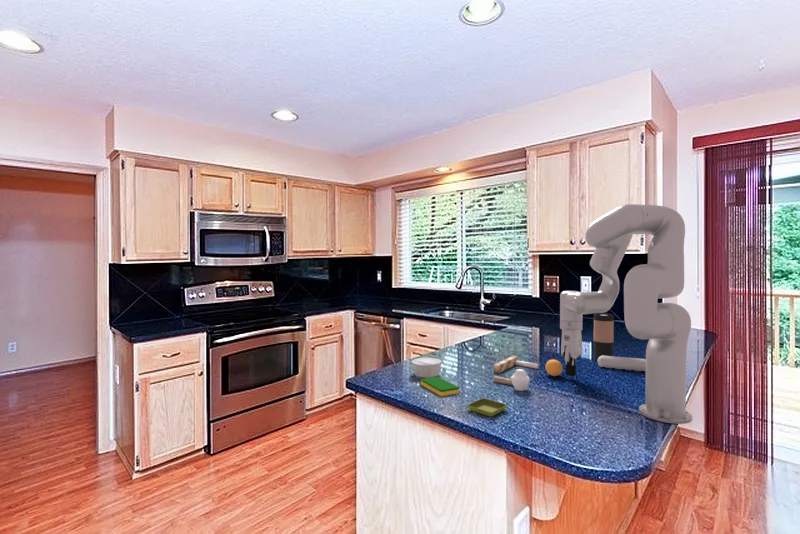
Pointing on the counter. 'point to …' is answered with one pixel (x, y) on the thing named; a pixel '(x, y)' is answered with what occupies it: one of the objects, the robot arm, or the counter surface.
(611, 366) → the tube
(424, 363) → the ramekin
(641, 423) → the counter surface
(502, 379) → the birch pin
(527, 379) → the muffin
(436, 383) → the dish sponge
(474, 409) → the olive square dish
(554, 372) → the ball
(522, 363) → the white pin
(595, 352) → the travel mug
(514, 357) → the rail
